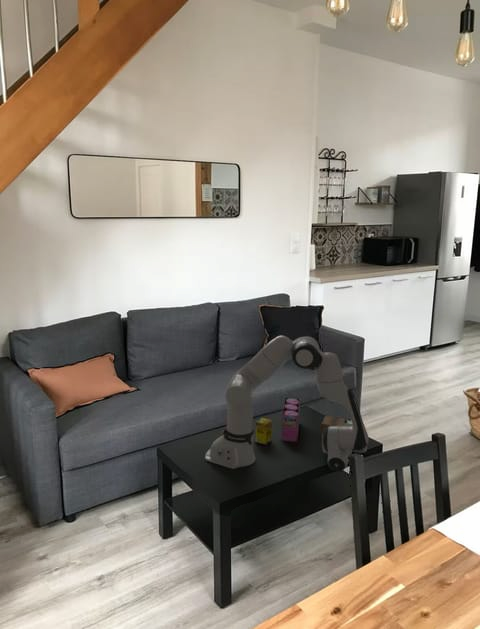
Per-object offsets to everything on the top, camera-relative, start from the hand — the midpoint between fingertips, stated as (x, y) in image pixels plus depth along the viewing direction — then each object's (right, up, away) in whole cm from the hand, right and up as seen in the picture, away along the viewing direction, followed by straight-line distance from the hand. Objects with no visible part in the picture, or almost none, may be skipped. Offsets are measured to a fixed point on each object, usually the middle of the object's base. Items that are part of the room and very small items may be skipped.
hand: (346, 435), depth 238 cm
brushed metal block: (0, -7, +1) cm, 7 cm away
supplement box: (-39, -5, +6) cm, 39 cm away
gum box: (-24, -3, +19) cm, 31 cm away
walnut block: (-4, -4, +14) cm, 15 cm away
